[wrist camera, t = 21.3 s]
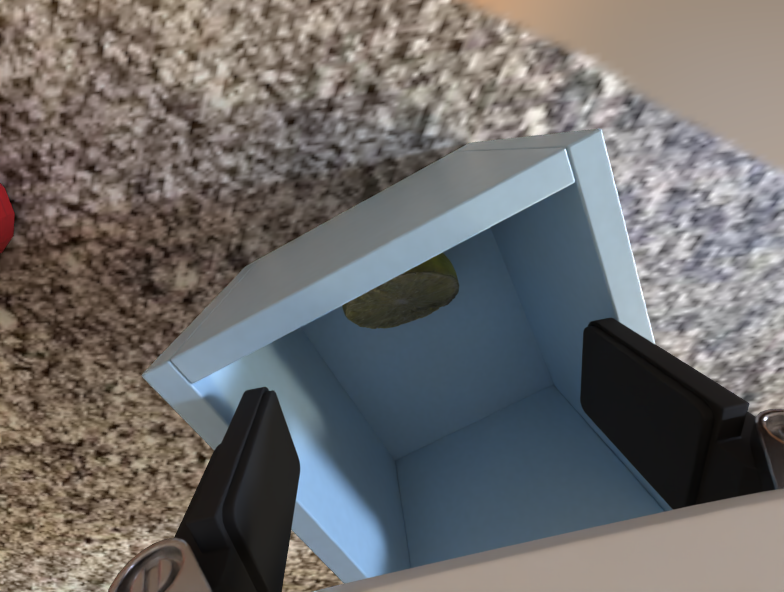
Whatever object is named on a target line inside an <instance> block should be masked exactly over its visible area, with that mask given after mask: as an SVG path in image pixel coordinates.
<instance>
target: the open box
mask: <svg viewBox="0 0 784 592" xmlns="http://www.w3.org/2000/svg"><path fill="white" fill-rule="evenodd" d="M442 252H443V253H444V254H445V256H447V258H448V259H449V260H450V261H451V263H452V265H453V267H454V269H455V271H456V274H457V278H458V282H459V292H458V294H457V295H456V296H455V299H452V301H451V302H450V303H449V304H448V305H446V306H444V307H440V308H439V309H438V310H436V311H434V312H433V313H432V314H430V315H428V316H426V317H423V318H419V319H417V320H415V321H411V322H409V323H405V324H402V325H399V326H397V327H393V328H385V329H383V328H376V329H371V328H366V327H359V326H358V325H357V324H355V323H353V322H351V321H350V320H348V319H347V317H346V316H345V314H344V311H343V308H342V305H344V304H346V303H348V302H349V301H351V300H353V299H355V298H357V297H359V296H361V295H363V294H365V293H366V292H368V291H370V290H372V289H374V288H376V287H378V286H380V285H382V284H384V283H385V282H387V281H389V280H391V279H393V278H395V277H397V276H399V275H401V274H403V273H404V272H406V271H408V270H410V269H412V268H414V267H416V266H418V265H420V264H421V263H423V262H425V261H427V260H429V259H431V258H433V257H435V256H437V255H439V254H440V253H442ZM605 318H613V319H615V320H617V321H619V322H620V323H622V324H623V325H625V326H627V327H628V328H630V329H631V330H633V331H635V332H636V333H638V334H639V335H641V336H643V337H644V338H646V339H647V340H649V341H651V342H652V343H654V344H655V341H654V337H653V333H652V329H651V325H650V321H649V317H648V313H647V309H646V305H645V301H644V297H643V293H642V289H641V285H640V281H639V277H638V273H637V269H636V265H635V261H634V257H633V253H632V249H631V245H630V241H629V237H628V233H627V229H626V225H625V221H624V217H623V213H622V209H621V205H620V201H619V197H618V193H617V189H616V185H615V181H614V177H613V173H612V169H611V165H610V161H609V157H608V153H607V148H606V144H605V140H604V136H603V132H602V130H601V129H591V130H582V131H573V132H564V133H555V134H545V135H536V136H527V137H518V138H509V139H500V140H491V141H481V142H473V143H468V144H466V145H465V146H463V147H461V148H459V149H457V150H455V151H454V152H452V153H450V154H448V155H446V156H445V157H443V158H441V159H439V160H437V161H436V162H434V163H432V164H430V165H428V166H426V167H425V168H423V169H421V170H419V171H417V172H416V173H414V174H412V175H410V176H408V177H406V178H405V179H403V180H401V181H399V182H397V183H396V184H394V185H392V186H390V187H388V188H387V189H385V190H383V191H381V192H379V193H377V194H376V195H374V196H372V197H370V198H368V199H367V200H365V201H363V202H361V203H359V204H357V205H356V206H354V207H352V208H350V209H348V210H347V211H345V212H343V213H341V214H339V215H338V216H336V217H334V218H332V219H330V220H328V221H327V222H325V223H323V224H321V225H319V226H318V227H316V228H314V229H312V230H310V231H308V232H307V233H305V234H303V235H301V236H299V237H298V238H296V239H294V240H292V241H290V242H289V243H287V244H285V245H283V246H281V247H279V248H278V249H276V250H274V251H272V252H270V253H269V254H267V255H265V256H263V257H261V258H259V259H258V260H256V261H254V262H252V263H250V264H249V265H247V266H245V267H244V268H243V270H242V271H240V273H239V274H238V275H237V276H236V277H235V278H234V279H233V280H232V281H231V282H230V283H229V284H228V285H227V286H226V287H225V288H224V289H223V290H222V291H221V292H220V293H219V294H218V295H217V296H216V298H215V299H214V300H213V301H212V302H211V303H210V304H209V305H208V306H207V307H206V308H205V309H204V310H203V311H202V312H201V313H200V314H199V315H198V316H197V317H196V318H195V319H194V320H193V322H192V323H191V324H190V325H189V326H188V327H187V328H186V329H185V330H184V331H183V332H182V333H181V334H180V335H179V336H178V337H177V338H176V339H175V340H174V341H173V342H172V343H171V344H170V345H169V347H168V348H167V349H166V350H165V351H164V352H163V353H162V354H161V355H160V356H159V357H158V358H157V359H156V360H155V361H154V362H153V363H152V364H151V365H150V366H149V367H148V368H147V369H146V371H145V372H144V373H143V374H142V377H143V378H144V379H145V380H146V381H147V382H148V383H149V384H150V385H151V386H152V388H153V389H154V390H155V391H156V392H157V393H158V394H159V395H160V396H161V397H162V398H163V399H164V400H165V401H166V402H167V403H168V404H169V405H170V406H171V407H172V408H173V409H174V410H175V411H176V412H177V413H178V414H179V415H180V416H181V417H182V418H183V419H184V420H185V421H186V422H187V423H188V424H189V425H190V426H191V427H192V428H193V429H194V430H195V432H196V433H197V434H198V435H199V436H200V437H201V438H202V439H203V440H204V441H205V442H206V443H207V444H208V445H209V446H210V447H211V448H212V449H213V450H215V449H216V447H217V446H218V445H219V444H221V443H222V440H223V438H224V436H225V434H226V432H227V429H228V427H229V425H230V423H231V420H232V418H233V416H234V414H235V411H236V409H237V407H238V405H239V402H240V400H241V398H242V396H243V393H244V392H245V391H246V390H251V389H256V388H261V387H267V388H268V389H269V391H272V390H274V391H275V392H276V395H277V397H278V400H279V403H280V406H281V409H282V412H283V414H284V417H285V420H286V423H287V426H288V429H289V432H290V434H291V437H292V440H293V443H294V446H295V449H296V452H297V454H298V457H299V461H300V477H299V483H298V490H297V496H296V503H295V509H294V515H293V522H292V528H291V530H292V531H293V532H294V533H295V534H296V535H297V536H298V537H299V538H300V539H301V540H302V541H303V542H304V543H305V544H306V545H307V546H308V547H309V548H310V549H311V550H312V551H313V552H314V553H315V554H316V555H317V556H318V557H319V558H320V559H321V560H322V561H323V563H324V564H325V565H326V566H327V567H328V568H329V569H330V570H331V571H332V572H333V573H334V574H335V575H336V576H337V577H338V578H339V579H340V580H341V581H342V582H343V583H344V584H345V583H349V582H353V581H357V580H362V579H366V578H370V577H375V576H379V575H383V574H388V573H392V572H397V571H401V570H405V569H410V568H414V567H418V566H423V565H427V564H431V563H436V562H440V561H444V560H449V559H453V558H457V557H462V556H466V555H471V554H475V553H480V552H484V551H489V550H493V549H498V548H502V547H506V546H511V545H515V544H520V543H524V542H529V541H533V540H538V539H542V538H547V537H551V536H556V535H560V534H565V533H569V532H574V531H578V530H583V529H587V528H592V527H596V526H601V525H606V524H610V523H615V522H619V521H624V520H629V519H633V518H638V517H642V516H647V515H652V514H656V513H661V512H665V511H670V510H673V509H672V508H671V507H670V506H669V505H668V504H667V503H666V502H665V500H664V499H663V498H662V497H661V496H660V495H659V494H658V493H657V492H656V491H655V489H654V488H653V487H652V486H651V485H650V484H649V483H648V482H647V481H646V479H645V478H644V477H643V476H642V475H641V474H640V473H639V472H638V471H637V470H636V468H635V467H634V466H633V465H632V464H631V463H630V462H629V461H628V460H627V459H626V457H625V456H624V455H623V454H622V453H621V452H620V451H619V450H618V449H617V447H616V446H615V445H614V444H613V443H612V442H611V441H610V440H609V439H608V438H607V436H606V435H605V434H604V433H603V432H602V431H601V430H600V429H599V428H598V426H597V425H596V424H595V423H594V422H593V421H592V420H591V419H590V418H589V417H588V415H587V414H586V413H585V412H584V410H583V409H582V406H581V403H580V393H581V371H582V349H583V331H584V329H585V328H586V327H588V324H589V323H590V322H591V321H595V320H600V319H605Z"/></svg>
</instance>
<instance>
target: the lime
mask: <svg viewBox="0 0 784 592" xmlns="http://www.w3.org/2000/svg"><path fill="white" fill-rule="evenodd" d="M458 292H459V282H458V278H457V274H456V271H455V269H454V267H453V265H452V263H451V261H450V260H449V259H448V258H447V256H445V254H444V253H443V252H442V253H440V254H439V255H437V256H435V257H433V258H431V259H429V260H427V261H425V262H423V263H421V264H420V265H418V266H416V267H414V268H412V269H410V270H408V271H406V272H404V273H403V274H401V275H399V276H397V277H395V278H393V279H391V280H389V281H387V282H385V283H384V284H382V285H380V286H378V287H376V288H374V289H372V290H370V291H368V292H366V293H365V294H363V295H361V296H359V297H357V298H355V299H353V300H351V301H349V302H348V303H346V304H344V305H342V308H343V311H344V314H345V316H346V317H347V319H348V320H350V321H351V322H353V323H355V324H357V325H358V326H359V327H366V328H371V329H376V328H383V329H385V328H393V327H397V326H399V325H402V324H405V323H409V322H411V321H415V320H417V319H419V318H423V317H426V316H428V315H430V314H432V313H433V312H434V311H436V310H438V309H439V308H440V307H444V306H446V305H448V304H449V303H450V302H451V301H452V299H455V296H456V295H457V294H458Z"/></svg>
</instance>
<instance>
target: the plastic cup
mask: <svg viewBox="0 0 784 592" xmlns="http://www.w3.org/2000/svg"><path fill="white" fill-rule="evenodd" d="M14 214H15V213H14V211H13V208H12V206H11V203H10V200H9V198H8V195H7V193H6V190H5V188H4V187H3V185H2V184H1V183H0V254H1V253H2V252H3V250H4V249H5V247H6V246H7V244H8V243H9V242H10V240H11V239H12V237H13V232H14Z"/></svg>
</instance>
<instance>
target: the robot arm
mask: <svg viewBox="0 0 784 592" xmlns="http://www.w3.org/2000/svg"><path fill="white" fill-rule="evenodd" d="M580 403H581V406H582V409H583V410H584V412H585V413H586V414H587V415H588V417H589V418H590V419H591V420H592V421H593V422H594V423H595V424H596V425H597V426H598V428H599V429H600V430H601V431H602V432H603V433H604V434H605V435H606V436H607V438H608V439H609V440H610V441H611V442H612V443H613V444H614V445H615V446H616V447H617V449H618V450H619V451H620V452H621V453H622V454H623V455H624V456H625V457H626V459H627V460H628V461H629V462H630V463H631V464H632V465H633V466H634V467H635V468H636V470H637V471H638V472H639V473H640V474H641V475H642V476H643V477H644V478H645V479H646V481H647V482H648V483H649V484H650V485H651V486H652V487H653V488H654V489H655V491H656V492H657V493H658V494H659V495H660V496H661V497H662V498H663V499H664V500H665V502H666V503H667V504H668V505H669V506H670V507H671V508H672V509H673V510H670V511H665V512H661V513H656V514H652V515H647V516H642V517H638V518H633V519H629V520H624V521H619V522H615V523H610V524H606V525H601V526H596V527H592V528H587V529H583V530H578V531H574V532H569V533H565V534H560V535H556V536H551V537H547V538H542V539H538V540H533V541H529V542H524V543H520V544H515V545H511V546H506V547H502V548H498V549H493V550H489V551H484V552H480V553H475V554H471V555H466V556H462V557H457V558H453V559H449V560H444V561H440V562H436V563H431V564H427V565H423V566H418V567H414V568H410V569H405V570H401V571H397V572H392V573H388V574H383V575H379V576H375V577H370V578H366V579H362V580H357V581H353V582H349V583H345V584H341V585H337V586H332V587H328V588H324V589H320V590H316V591H312V592H784V409H769V410H766V411H763V412H760V413H759V414H758V415H757V416H756V417H755V416H753V415H752V414H750V413H749V412H747V410H748V407H749V403H748V402H746V401H745V400H743V399H742V398H740V397H738V396H737V395H735V394H734V393H732V392H730V391H729V390H727V389H726V388H724V387H722V386H721V385H719V384H718V383H716V382H714V381H713V380H711V379H710V378H708V377H706V376H705V375H703V374H702V373H700V372H698V371H697V370H695V369H694V368H692V367H690V366H689V365H687V364H686V363H684V362H682V361H681V360H679V359H678V358H676V357H675V356H673V355H671V354H670V353H668V352H667V351H665V350H663V349H662V348H660V347H659V346H657V345H655V344H654V343H652V342H651V341H649V340H647V339H646V338H644V337H643V336H641V335H639V334H638V333H636V332H635V331H633V330H631V329H630V328H628V327H627V326H625V325H623V324H622V323H620V322H619V321H617V320H615V319H613V318H605V319H600V320H595V321H591V322H590V323H589V324H588V327H586V328H585V329H584V331H583V349H582V371H581V393H580ZM299 477H300V461H299V457H298V454H297V452H296V449H295V446H294V443H293V440H292V437H291V434H290V432H289V429H288V426H287V423H286V420H285V417H284V414H283V412H282V409H281V406H280V403H279V400H278V397H277V395H276V392H275V391H274V390H272V391H269V389H268V388H267V387H261V388H256V389H251V390H246V391H245V392H244V393H243V396H242V398H241V400H240V402H239V405H238V407H237V409H236V411H235V414H234V416H233V418H232V420H231V423H230V425H229V427H228V429H227V432H226V434H225V436H224V438H223V440H222V443H221V444H219V445H218V446H217V447H216V449H215V450H214V452H213V454H212V456H211V459H210V461H209V463H208V465H207V467H206V470H205V472H204V474H203V476H202V478H201V480H200V483H199V485H198V487H197V489H196V491H195V494H194V496H193V498H192V500H191V502H190V504H189V507H188V509H187V511H186V513H185V515H184V518H183V520H182V522H181V524H180V526H179V528H178V531H177V533H176V535H175V537H174V538H169V539H164V540H162V541H159V542H156V543H154V544H152V545H151V546H149V547H147V548H146V549H144V550H142V551H141V552H140V553H138V554H137V555H136V556H135V557H134V558H133V559H131V560H130V561H129V562H128V563H127V564H126V565H125V567H124V568H123V569H122V570H121V571H120V572H119V573H118V575H117V576H116V578H115V579H114V581H113V583H112V584H111V586H110V588H109V590H108V592H282V585H283V579H284V573H285V566H286V560H287V553H288V547H289V541H290V534H291V528H292V522H293V515H294V509H295V503H296V496H297V490H298V483H299Z"/></svg>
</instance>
